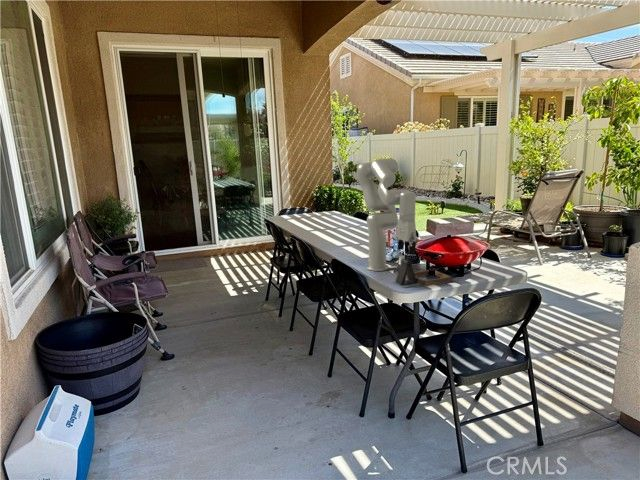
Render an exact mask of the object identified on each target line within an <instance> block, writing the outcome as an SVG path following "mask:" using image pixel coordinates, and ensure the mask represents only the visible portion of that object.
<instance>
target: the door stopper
mask: <svg viewBox="0 0 640 480" xmlns="http://www.w3.org/2000/svg"><path fill="white" fill-rule="evenodd" d="M413 268H414V267H413V262H412V261H411V260H410V259H407V258H406V257H405V258H403V257H402V258H401V259H400V266H399V269H398V273H397V275H396V278H395V281H394V282H396V283H398V284H400V285H401V286H402V285H409V284H417V280H416V277H415V274H414V272H415V271H414V269H413ZM407 276H408V280H406V279H407Z"/></svg>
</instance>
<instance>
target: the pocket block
mask: <svg viewBox="0 0 640 480" xmlns="http://www.w3.org/2000/svg"><path fill="white" fill-rule="evenodd" d="M429 270H430V269H426V270H421V271H420V270H419V271H414V274H415V277H416V280H417V283H420V284H421V285H420V286H424V287H431V286H437V285H441V284H447V283H452V282H453V277H452V276H450V275H447V274H445V273H442V272H440V271H438V270H435V275H436V276H437V277H436V276H435V277H436V278H433V279H429V280H426V279H425V280H424V278H420V276H421V277H424V276H428V275H427V274H428V272H429ZM439 277H440V278H439ZM406 279H408V276H407V275H406Z"/></svg>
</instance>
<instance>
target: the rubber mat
mask: <svg viewBox="0 0 640 480" xmlns="http://www.w3.org/2000/svg"><path fill="white" fill-rule="evenodd" d="M405 280H408V279H407V278H406V279H405ZM392 284H394V285H396V286H399V287H401V288H403V289H407V288H412V287H418V286H422V285H421V284H420V283H417V284H409V285H402V286H401V285H400V284H398V283H396V282H395V281H392Z"/></svg>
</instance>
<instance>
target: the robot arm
mask: <svg viewBox="0 0 640 480" xmlns="http://www.w3.org/2000/svg"><path fill="white" fill-rule="evenodd" d="M398 172H399V163H398V162H397V160H396V159H394V158H379V159H375V160H373V161H372V162H363V163H361V164H359V165H358V166H357V169H356V178H357V181H358V184H359V186H360V187H361V190H362V194H363V195H362V196H363V198H364V204H365V208H366V209H367V211H369V212H372V213H370V214H368V216H367V217H366V225H367V231H368V259H367V260H366V261H367V263H368V264H367V265H366V266H365V268H366V270H369V271H372V272H373V271H374V272H382V271H386V270H387V271H388V270H389V268H390V266H389V265H388V264H387V240H386V239H387V238H386V235H385V233H384V232H383V230H390V229H395V228H396V232H395V235H396V239H397V240H396V241H397V250H399V251H400V250H401V251H402V250H404V246H405V242H406V243H409V246H408V248H409V249H408V250H409V251H408V254H409V255H413V254H414V255H415V254H416V248H417V247H416V246H417V244H418V241H419V237H418V236H417V230H416V228H417V227H416V201H417V200H416V196H417V195H416V193H415V192H414V191H410V190H409V189H389V190H388V188H389V187H391V186H393V184H394V183H395V181H396V174H397V173H398ZM372 178H373V179H375V178H376V179H377V180H378V182H379V183H378V186H377V184H376V183H375V182H374V180H372ZM396 206H399V207H398V208H399V210H398V213H399V214H398V213H397V209H396V208H397V207H396ZM398 215H399V216H398ZM398 217H399V218H398Z"/></svg>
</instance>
